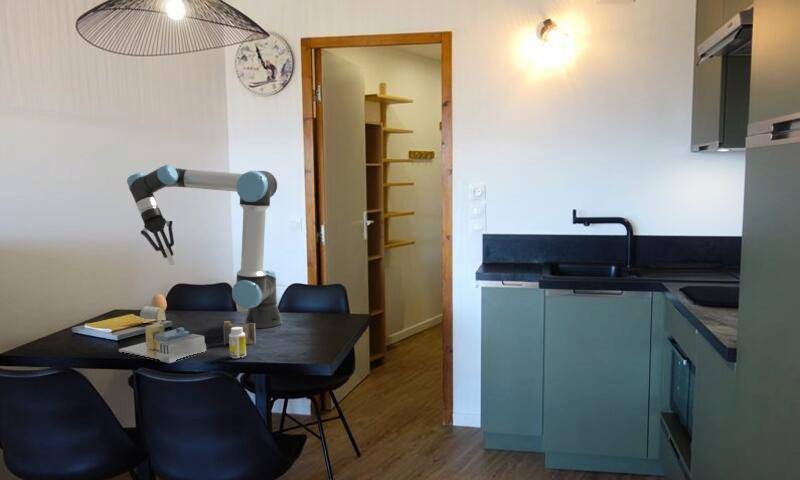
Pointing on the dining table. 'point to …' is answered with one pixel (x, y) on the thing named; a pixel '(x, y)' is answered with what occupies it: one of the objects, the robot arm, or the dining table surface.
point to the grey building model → (170, 346)
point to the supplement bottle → (237, 342)
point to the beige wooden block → (150, 333)
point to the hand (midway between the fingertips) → (172, 264)
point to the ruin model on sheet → (247, 329)
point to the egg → (159, 302)
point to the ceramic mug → (152, 313)
